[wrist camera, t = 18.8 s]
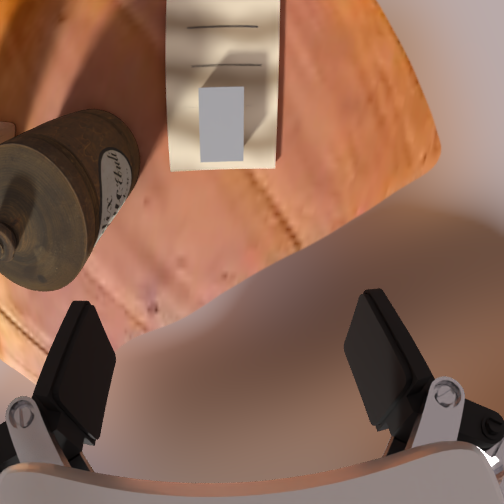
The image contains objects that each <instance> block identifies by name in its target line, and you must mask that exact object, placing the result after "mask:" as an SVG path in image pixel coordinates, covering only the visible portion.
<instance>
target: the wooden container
mask: <svg viewBox="0 0 504 504" xmlns="http://www.w3.org/2000/svg"><path fill="white" fill-rule="evenodd" d="M139 166H140V159H139V151H138V147H137V144H136V141H135V138H134V136H133V134H132V133H131V131H130V130H129V128H128V127H127V126H126V125H125V124H124V123H123V122H122V121H121V120H120V119H119V118H117V117H116V116H114V115H113V114H111V113H109V112H106V111H102V110H96V109H88V110H82V111H78V112H75V113H71V114H68V115H65V116H62V117H59V118H56V119H53V120H51V121H48V122H46V123H43V124H41V125H39V126H37V127H35V128H33V129H31V130H28V131H26V132H24V133H22V134H20V135H18V136H16V137H13V138H11V139H9V140H7V141H5V142H3V143H1V144H0V273H1V274H2V275H4V276H5V277H6V278H8V279H9V280H11V281H12V282H14V283H16V284H18V285H20V286H22V287H24V288H27V289H30V290H35V291H36V290H38V291H54V290H58V289H61V288H63V287H65V286H66V285H68V284H69V283H70V282H72V281H73V280H74V279H75V277H76V276H77V275H78V274H79V272H80V271H81V269H82V268H83V266H84V264H85V263H86V261H87V259H88V257H89V256H90V254H91V252H92V250H93V248H94V246H95V245H96V243H97V242H98V240H99V239H100V237H101V236H102V234H103V233H104V231H105V230H106V228H107V227H108V226H109V224H110V223H111V221H112V220H113V219H114V217H115V216H116V214H117V213H118V211H119V210H120V208H121V207H122V205H123V203H124V202H125V200H126V199H127V197H128V196H129V194H130V193H131V191H132V190H133V188H134V186H135V184H136V181H137V178H138V174H139Z"/></svg>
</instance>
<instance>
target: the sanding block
mask: <svg viewBox="0 0 504 504" xmlns="http://www.w3.org/2000/svg"><path fill="white" fill-rule="evenodd" d="M198 89H199V133H200V160H201V162H226V161H243V151H244V87H242V86H230V87H202V88H198Z"/></svg>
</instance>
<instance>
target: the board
mask: <svg viewBox="0 0 504 504" xmlns="http://www.w3.org/2000/svg"><path fill="white" fill-rule="evenodd" d="M279 35H280V0H167V4H166V105H167V126H168V144H169V158H170V171H171V172H174V171H191V170H213V169H254V168H275V160H276V135H277V108H278V76H279ZM230 86H242V87H244V151H243V161H226V162H201V160H200V133H199V89H198V88H202V87H230Z"/></svg>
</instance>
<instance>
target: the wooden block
mask: <svg viewBox="0 0 504 504" xmlns="http://www.w3.org/2000/svg"><path fill="white" fill-rule="evenodd" d="M15 129H16V128H15V125H14V124H13V123H10V122H0V144H1V143H3V142H5V141H7V140H9V139H11V138H13V137H15Z"/></svg>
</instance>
